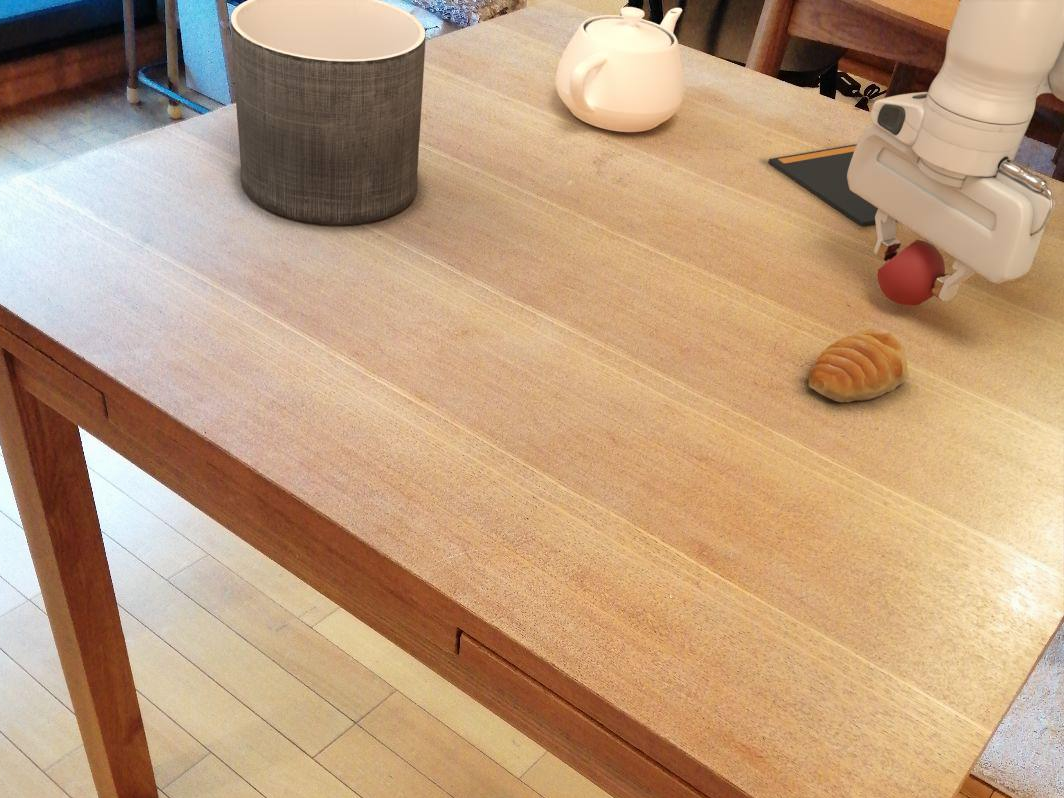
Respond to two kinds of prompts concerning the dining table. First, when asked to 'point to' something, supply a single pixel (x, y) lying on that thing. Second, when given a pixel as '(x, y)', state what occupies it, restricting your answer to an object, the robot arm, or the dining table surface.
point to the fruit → (911, 274)
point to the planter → (328, 107)
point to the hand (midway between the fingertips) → (911, 276)
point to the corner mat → (828, 180)
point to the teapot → (623, 71)
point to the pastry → (860, 367)
